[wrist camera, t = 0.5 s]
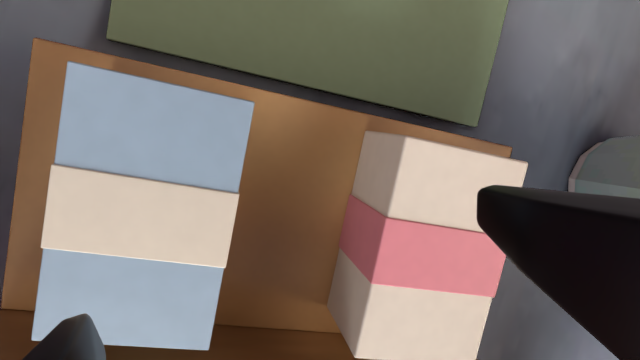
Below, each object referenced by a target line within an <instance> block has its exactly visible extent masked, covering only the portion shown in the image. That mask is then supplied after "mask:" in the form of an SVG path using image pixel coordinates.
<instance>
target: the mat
mask: <svg viewBox="0 0 640 360" xmlns="http://www.w3.org/2000/svg"><path fill="white" fill-rule="evenodd" d="M508 2H509V0H111V6H110V13H109V20H108V28H107V35H106V38H107V39H108V40H111V41H115V42H119V43H124V44H128V45H132V46H136V47H140V48H145V49H149V50H153V51H157V52H161V53H166V54H170V55H174V56H178V57H182V58H186V59H191V60H195V61H199V62H203V63H207V64H212V65H216V66H220V67H224V68H228V69H233V70H237V71H241V72H245V73H249V74H253V75H258V76H262V77H266V78H270V79H274V80H279V81H283V82H287V83H291V84H295V85H300V86H304V87H308V88H312V89H316V90H321V91H325V92H329V93H333V94H337V95H341V96H346V97H350V98H354V99H358V100H362V101H367V102H371V103H375V104H379V105H383V106H388V107H392V108H396V109H400V110H404V111H408V112H413V113H417V114H421V115H425V116H429V117H434V118H438V119H442V120H446V121H450V122H455V123H459V124H463V125H467V126H471V127H477V125H478V121H479V117H480V113H481V109H482V105H483V101H484V97H485V93H486V89H487V85H488V81H489V77H490V73H491V69H492V65H493V61H494V58H495V54H496V50H497V46H498V42H499V38H500V34H501V30H502V26H503V22H504V18H505V14H506V10H507V6H508Z"/></svg>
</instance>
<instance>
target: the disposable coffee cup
mask: <svg viewBox="0 0 640 360" xmlns="http://www.w3.org/2000/svg"><path fill="white" fill-rule="evenodd" d="M568 192H577V193H587V194H598V195H608V196H618V197H629V198H639V199H640V135H637V136H628V137H618V138H608V139H607V140H606V141H605V142H599V143H597V144H596V145H594V146H593V147H592V148H590V149H589V150H588V151H586V152H585V153H584V154H582V155H581V156H580V157H579V159H578V161H577V163H576V165H575V167H574V169H573V171H572V173H571V175H570V177H569V185H568Z"/></svg>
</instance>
